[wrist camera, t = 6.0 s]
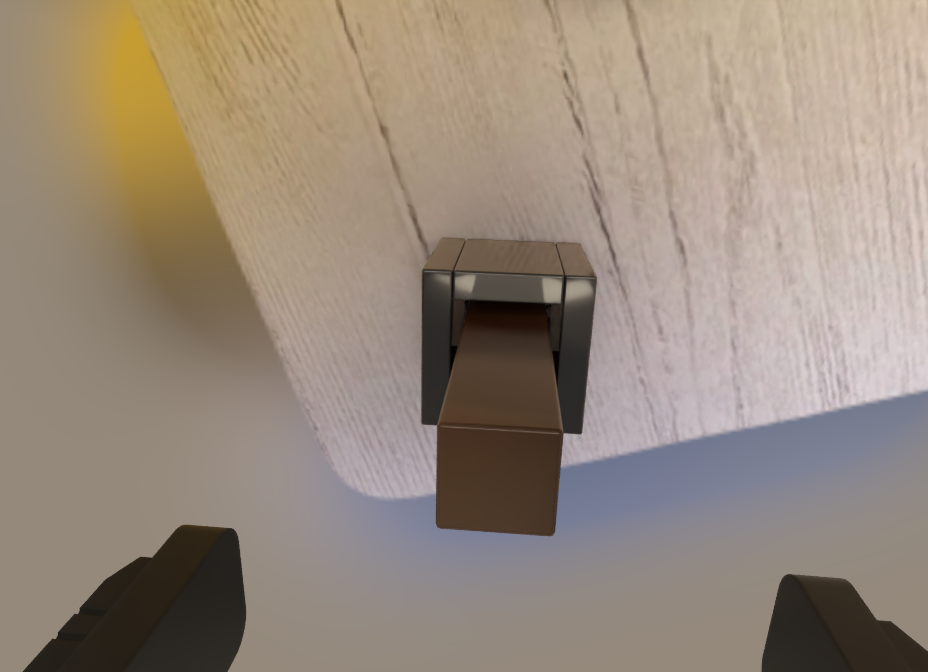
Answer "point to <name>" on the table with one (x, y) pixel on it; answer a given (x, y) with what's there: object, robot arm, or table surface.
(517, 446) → the stick
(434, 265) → the holder
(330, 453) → the table surface
